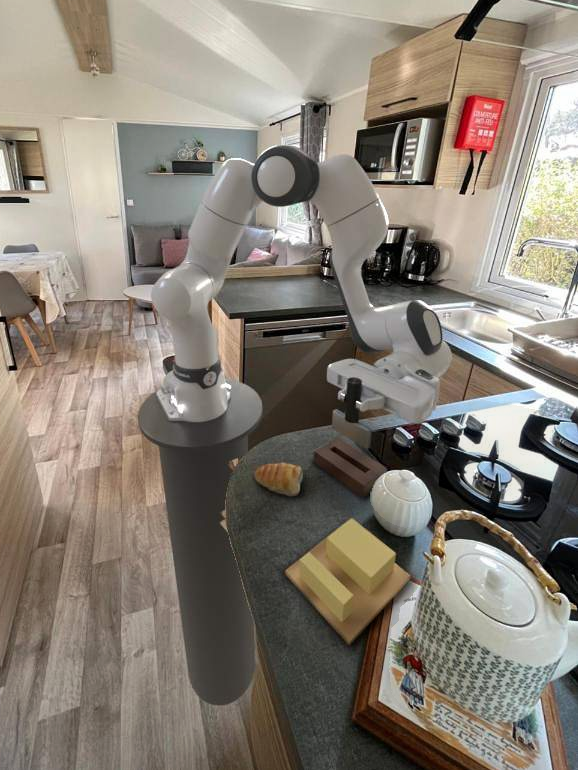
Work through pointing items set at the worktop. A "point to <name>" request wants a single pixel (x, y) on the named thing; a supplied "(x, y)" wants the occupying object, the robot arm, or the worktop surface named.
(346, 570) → the butter
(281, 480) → the pastry
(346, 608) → the butter slice
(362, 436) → the knife
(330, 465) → the knife stand
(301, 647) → the worktop surface
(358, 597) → the board
